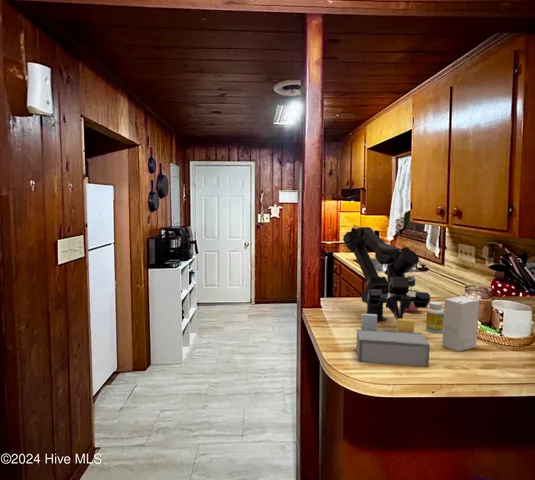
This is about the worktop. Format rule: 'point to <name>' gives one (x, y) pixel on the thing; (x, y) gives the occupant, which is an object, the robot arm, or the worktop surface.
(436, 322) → the supplement bottle
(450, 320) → the skincare box
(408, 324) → the mustard button
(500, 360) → the worktop surface
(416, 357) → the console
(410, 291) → the decorative fruit
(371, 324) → the light gray button
